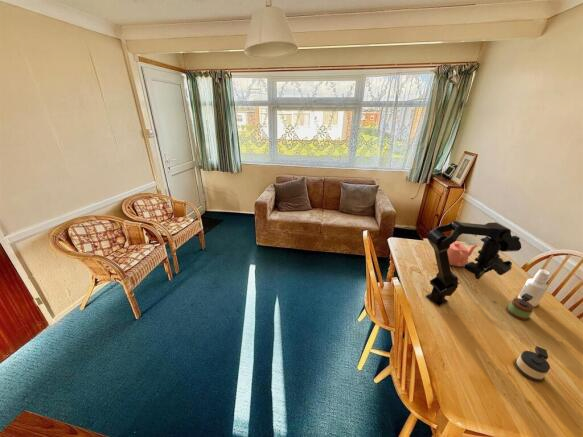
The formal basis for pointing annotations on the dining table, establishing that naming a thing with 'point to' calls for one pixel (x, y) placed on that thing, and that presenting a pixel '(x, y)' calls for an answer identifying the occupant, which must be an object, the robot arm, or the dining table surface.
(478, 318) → the dining table surface
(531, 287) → the spray bottle
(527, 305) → the green cylinder
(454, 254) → the teapot
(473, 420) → the dining table surface
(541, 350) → the plain pump
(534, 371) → the black and cream cylinder
